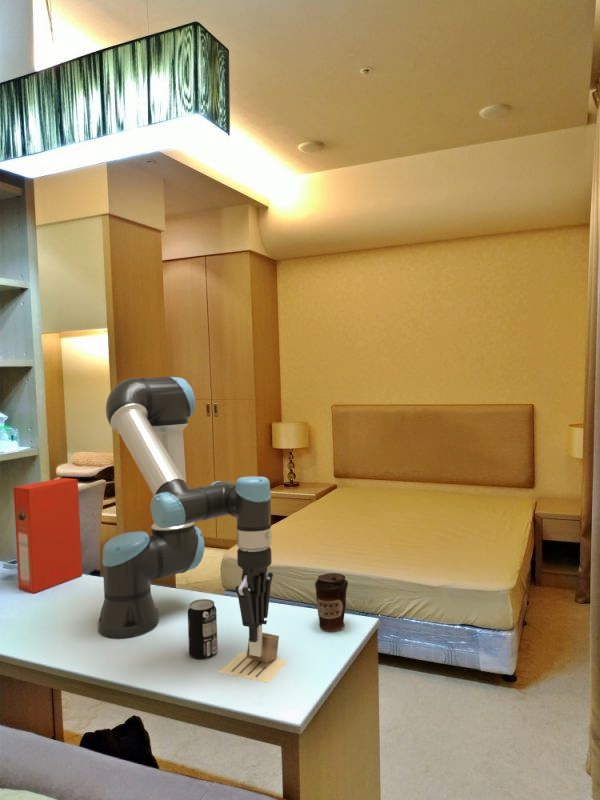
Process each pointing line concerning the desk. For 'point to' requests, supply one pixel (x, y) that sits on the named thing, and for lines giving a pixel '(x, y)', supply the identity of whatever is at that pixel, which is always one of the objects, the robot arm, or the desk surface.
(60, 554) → the file binder
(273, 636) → the walnut block
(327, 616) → the coffee cup
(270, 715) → the desk surface
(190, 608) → the beverage can
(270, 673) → the letter
